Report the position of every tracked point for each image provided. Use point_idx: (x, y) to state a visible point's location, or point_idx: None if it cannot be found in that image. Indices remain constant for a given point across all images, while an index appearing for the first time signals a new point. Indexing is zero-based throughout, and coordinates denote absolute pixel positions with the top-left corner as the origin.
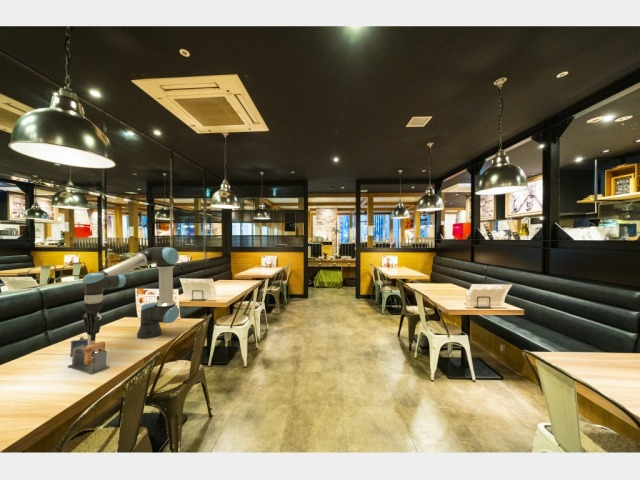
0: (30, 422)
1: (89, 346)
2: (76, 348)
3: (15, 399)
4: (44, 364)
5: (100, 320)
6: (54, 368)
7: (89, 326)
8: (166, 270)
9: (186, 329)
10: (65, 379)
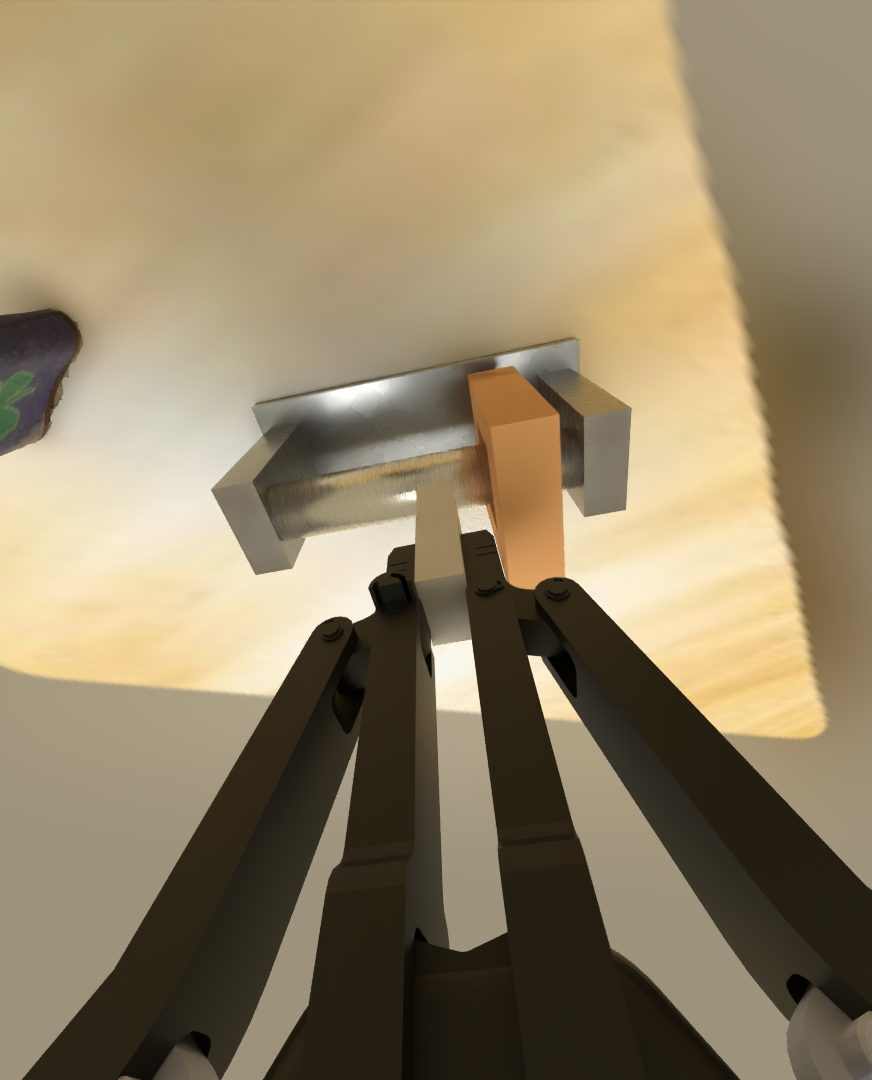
0: (768, 700)
1: (552, 577)
2: (289, 560)
3: None
4: (133, 575)
5: (846, 898)
6: None
7: (436, 766)
8: None
9: None
10: None
